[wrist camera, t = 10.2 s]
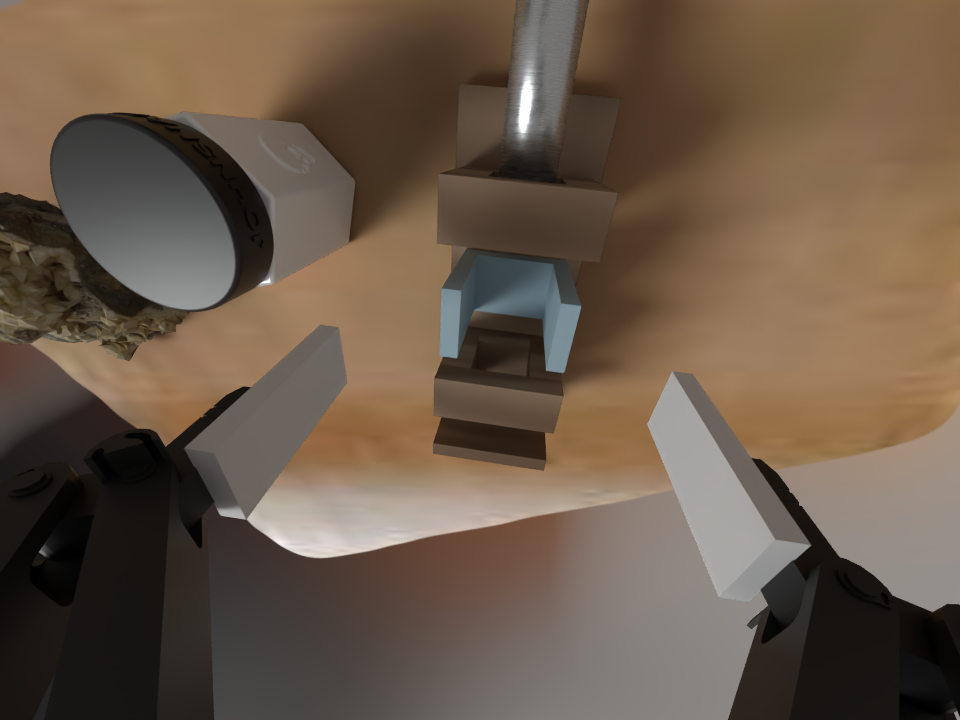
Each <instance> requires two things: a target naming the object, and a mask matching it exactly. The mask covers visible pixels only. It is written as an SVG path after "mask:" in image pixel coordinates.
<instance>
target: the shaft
mask: <svg viewBox="0 0 960 720" xmlns="http://www.w3.org/2000/svg"><path fill="white" fill-rule="evenodd" d="M588 3H589V0H516V8H515V18H514V28H513V38H512V48H511V58H510V68H509V78H508V87H507V97H506V107H505V117H504V127H503V137H502V147H501V157H500V167H499V177H501V178H511V179H520V180H530V181H539V182H548V183H556V181H557V175H558V170H559V164H560V159H561V153H562V147H563V142H564V136H565V131H566V125H567V120H568V114H569V109H570V103H571V98H572V92H573V86H574V81H575V75H576V70H577V64H578V59H579V53H580V48H581V42H582V37H583V31H584V25H585V20H586V14H587V9H588Z"/></svg>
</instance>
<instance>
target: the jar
mask: <svg viewBox="0 0 960 720" xmlns="http://www.w3.org/2000/svg"><path fill="white" fill-rule="evenodd" d="M50 173H51V179H52V184H53V188H54V192H55V195H56V198H57V201H58V203H59V206H60V208H61V210H62V212H63V214H64V216H65V218H66V220H67V222H68V224H69V225H70V227H71V229H72V230H73V232H74V233H75V235H76V236H77V238H78V239H79V241H80V242H81V243H82V245H83V246H84V247H85V248H86V250H87V251H88V252H89V253H90V255H91V256H92V257H93V258H94V259H95V260H96V261H97V262H98V263H99V264H100V265H101V266H102V267H103V268H104V269H105V270H106V271H107V272H108V273H109V274H111V275H112V276H113V277H114V278H115V279H117V280H118V281H119V282H120V283H122V284H123V285H124V286H126V287H127V288H129V289H130V290H132V291H133V292H135V293H137V294H138V295H140V296H142V297H144V298H145V299H147V300H150V301H152V302H154V303H156V304H159V305H161V306H164V307H168V308H171V309H175V310H180V311H188V312H200V311H207V310H211V309H214V308H217V307H219V306H221V305H223V304H225V303H227V302H229V301H231V300H232V299H234V298H236V297H238V296H240V295H242V294H244V293H246V292H248V291H250V290H252V289H253V288H255V287H260V286H266V285H271V284H275V283H277V282H278V281H280V280H282V279H284V278H286V277H288V276H290V275H291V274H293V273H295V272H297V271H299V270H301V269H303V268H304V267H306V266H308V265H310V264H312V263H314V262H316V261H317V260H319V259H321V258H323V257H325V256H327V255H329V254H331V253H332V252H334V251H336V250H338V249H340V248H342V247H344V246H345V245H347V244H348V243H349V237H350V228H351V219H352V209H353V200H354V191H355V180H354V179H353V178H352V176H351V175H350V174H349V173H348V172H347V171H346V170H345V169H344V168H343V167H342V166H341V165H340V164H339V162H338V161H337V160H336V159H335V158H334V157H333V156H332V155H331V154H330V153H329V152H328V151H327V149H326V148H325V147H324V146H323V145H322V144H321V143H320V142H319V141H318V140H317V139H316V138H315V137H314V135H313V134H312V133H311V132H310V131H309V130H308V129H307V128H306V127H305V126H304V125H303V124H301V123H295V122H286V121H276V120H266V119H256V118H246V117H236V116H227V115H217V114H207V113H197V112H187V111H183V112H180V113H177V114H174V115H171V116H168V117H165V118H158V117H155V116H150V115H144V114H133V113H112V114H111V113H108V114H89V115H84V116H81V117H78V118H76V119H74V120H72V121H70V122H69V123H68V124H66V125H65V126H64V127H63V128H62V130H61V131H60V132H59V133H58V135H57V137H56V139H55V141H54V143H53V146H52V150H51V156H50Z"/></svg>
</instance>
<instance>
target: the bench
mask: <svg viewBox="0 0 960 720" xmlns="http://www.w3.org/2000/svg"><path fill="white" fill-rule="evenodd" d="M506 97H507V88H502V87H491V86H480V85H469V84H459V101H458V124H457V148H456V169H453V170H450V171H446V172H443V173H440V174H439V176H438V226H437V244H445V245H452V265H451V273H452V271H453V269H454V268H455V266H456V264H457V263H458V261H459V260H460V258H461V256H462V255H463V253H464V252H465V250H466V249H471V250H480V251H488V252H497V253H505V254H513V255H522V256H530V257H538V258H547V259H555V260H563V261H567V263H568V266H569V269H570V272H571V275H572V278H573V281H574V284H575V287H576V285H577V280H578V276H579V272H580V268H581V264H582V261H588V262H597V263H600V259H601V255H602V252H603V248H604V244H605V240H606V237H607V233H608V229H609V226H610V222H611V218H612V214H613V211H614V207H615V203H616V200H617V196H618V193H617V192H615V191H613V190H611V189H610V188H608V187H606V186H604V185H602V184H601V181H602V177H603V173H604V169H605V165H606V160H607V156H608V152H609V148H610V144H611V140H612V136H613V131H614V127H615V123H616V119H617V115H618V111H619V107H620V102H621V98H611V97H600V96H590V95H579V94H572V98H571V103H570V109H569V114H568V120H567V125H566V131H565V136H564V142H563V147H562V153H561V159H560V164H559V170H558V175H557V181H556V183H548V182H539V181H530V180H520V179H511V178H501V177H499V167H500V157H501V147H502V137H503V127H504V117H505V107H506ZM563 397H564V396H563V389H562V382H561V374H560V373H559V372H552V371H546V362H545V349H544V335H543V321H542V319H537V318H529V317H521V316H514V315H506V314H498V313H491V312H483V311H475V310H474V311H473V314H472V317H471V320H470V322H469V325H468V328H467V331H466V334H465V337H464V340H463V343H462V346H461V349H460V352H459V355H458V357H457V358H451V357H443V359H442V361H441V364H440V366H439V368H438V371H437V373H436V376H435V378H434V416H438V417H442V418H441V421H440V424H439V427H438V430H437V433H436V436H435V439H434V442H433V454H439V455H445V456H452V457H458V458H465V459H471V460H478V461H484V462H491V463H497V464H504V465H510V466H517V467H523V468H529V469H536V470H542V471H544V467H545V464H546V446H545V432H546V433H553V434H554V430H555V426H556V423H557V419H558V415H559V412H560V408H561V404H562V400H563Z"/></svg>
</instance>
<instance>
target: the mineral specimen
mask: <svg viewBox="0 0 960 720" xmlns="http://www.w3.org/2000/svg"><path fill="white" fill-rule="evenodd" d="M188 313H189V312H188V311H180V310H175V309H171V308H168V307H164V306H161V305H159V304H156V303H154V302H152V301H150V300H147V299H145V298H144V297H142V296H140V295H138V294H137V293H135V292H133V291H132V290H130V289H129V288H127V287H126V286H124V285H123V284H122V283H120V282H119V281H118V280H117V279H115V278H114V277H113V276H112V275H111V274H109V273H108V272H107V271H106V270H105V269H104V268H103V267H102V266H101V265H100V264H99V263H98V262H97V261H96V260H95V259H94V258H93V257H92V256H91V255H90V253H89V252H88V251H87V250H86V248H85V247H84V246H83V245H82V243H81V242H80V241H79V239H78V238H77V236H76V235H75V233H74V232H73V230H72V229H71V227H70V225H69V224H68V222H67V220H66V218H65V216H64V214H63V212H62V210H60V209H59V208H57V207H56V206H54V205H51V204H49V203H48V202H47V201H37V200H33V199H30V198H27V197H25V196H23V195H20V194H18V195H12V194H10V193H7V192H4V193H0V342H9V343H10V344H11V345H17V344H23V343H32V342H34V341H36V340H37V339H39V338H41V337H43V338H46V339H50V340H56V341H62V342H70V343H75V342H82V341H85V340H86V341H85V344H86V343H88V342H91V341H94V340H100V341H101V343H102V345H99V346H101V347H103V348H104V349H106V351H107V354H112V353H113V355H114V356H115V357H116V359H117V358H120V359H123V360H127V361H130V359H131V358H132V356H133V354H134V352H135V351H136V349H137V347H138V346H139V345H140V344H141V343H142V342H146V341H145V339H146V340H152V338H153V336H154V334H155V331H161V334H163V333H164V332H167V333H169V332H176V329H175V327H176V324H181V322H182V319H183V318H184V317H185V316H186V315H187V314H188Z"/></svg>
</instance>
